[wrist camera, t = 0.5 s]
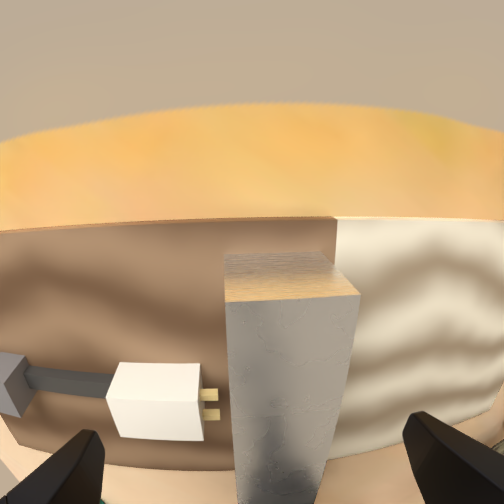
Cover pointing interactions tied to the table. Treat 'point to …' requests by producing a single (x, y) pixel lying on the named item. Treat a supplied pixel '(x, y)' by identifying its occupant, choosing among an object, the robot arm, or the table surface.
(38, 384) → the plug
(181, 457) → the base board
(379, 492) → the table surface
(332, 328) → the motor housing
